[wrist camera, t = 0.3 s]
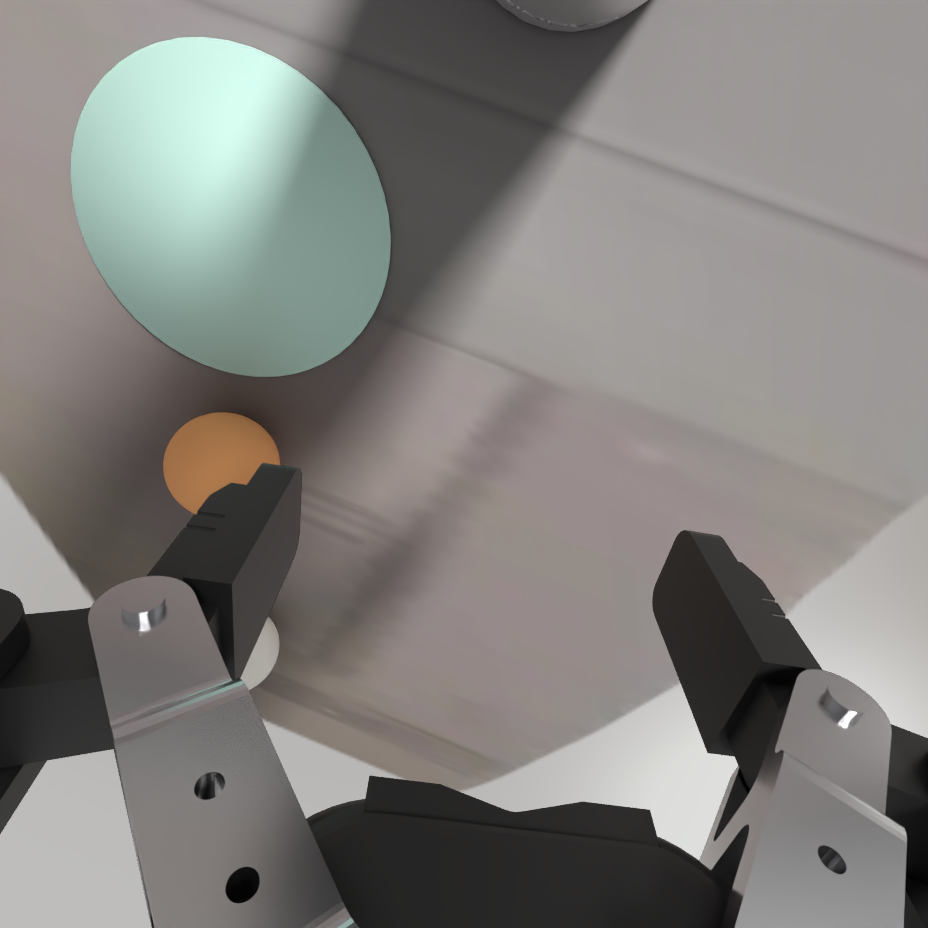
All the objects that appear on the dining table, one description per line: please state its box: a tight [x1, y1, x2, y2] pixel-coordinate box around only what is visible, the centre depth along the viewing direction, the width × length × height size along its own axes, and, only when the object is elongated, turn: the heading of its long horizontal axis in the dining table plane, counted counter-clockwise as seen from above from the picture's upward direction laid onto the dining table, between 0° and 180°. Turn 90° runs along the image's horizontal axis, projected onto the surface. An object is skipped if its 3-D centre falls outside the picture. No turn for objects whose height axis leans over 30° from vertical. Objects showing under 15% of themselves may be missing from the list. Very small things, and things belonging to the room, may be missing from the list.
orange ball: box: [163, 412, 280, 514], centre depth 29 cm, size 6×6×6 cm
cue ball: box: [240, 617, 280, 690], centre depth 36 cm, size 6×6×6 cm
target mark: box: [71, 37, 391, 377], centre depth 25 cm, size 14×14×1 cm
